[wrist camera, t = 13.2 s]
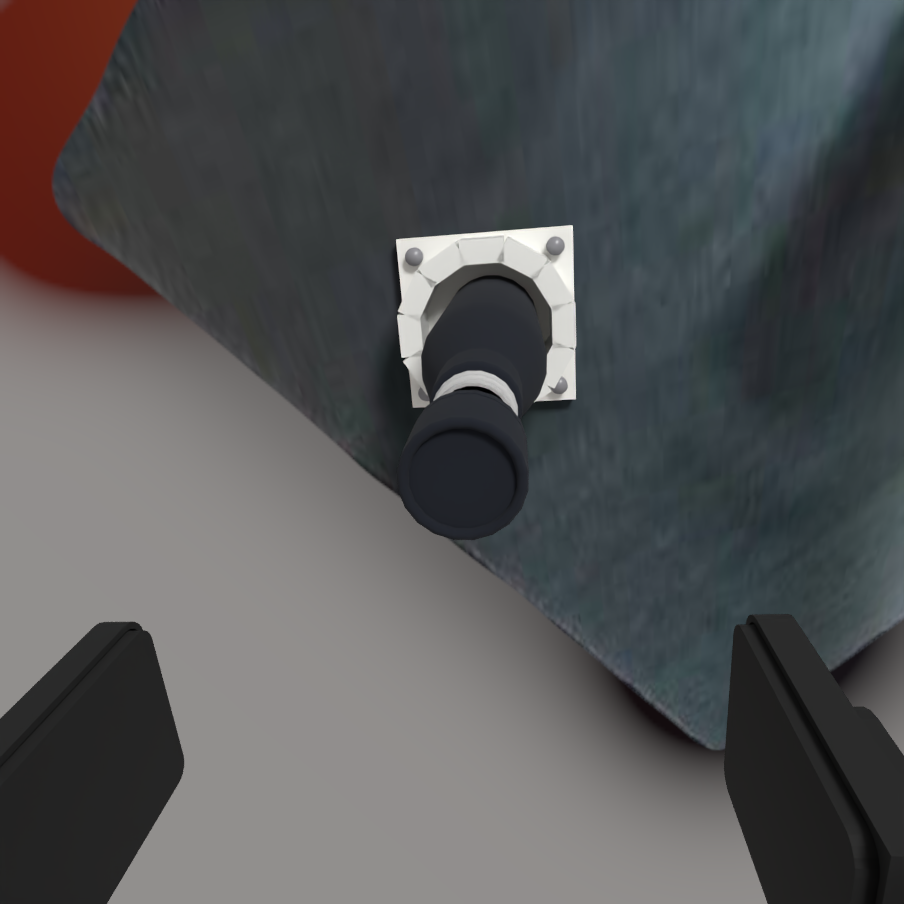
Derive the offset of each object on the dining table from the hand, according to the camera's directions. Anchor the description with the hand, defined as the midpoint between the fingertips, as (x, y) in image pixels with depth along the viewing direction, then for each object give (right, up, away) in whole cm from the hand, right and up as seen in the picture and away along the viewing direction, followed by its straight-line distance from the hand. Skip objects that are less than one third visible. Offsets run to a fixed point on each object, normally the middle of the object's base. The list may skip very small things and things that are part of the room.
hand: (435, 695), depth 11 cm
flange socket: (+3, +13, +38) cm, 40 cm away
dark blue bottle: (+3, +13, +37) cm, 39 cm away
